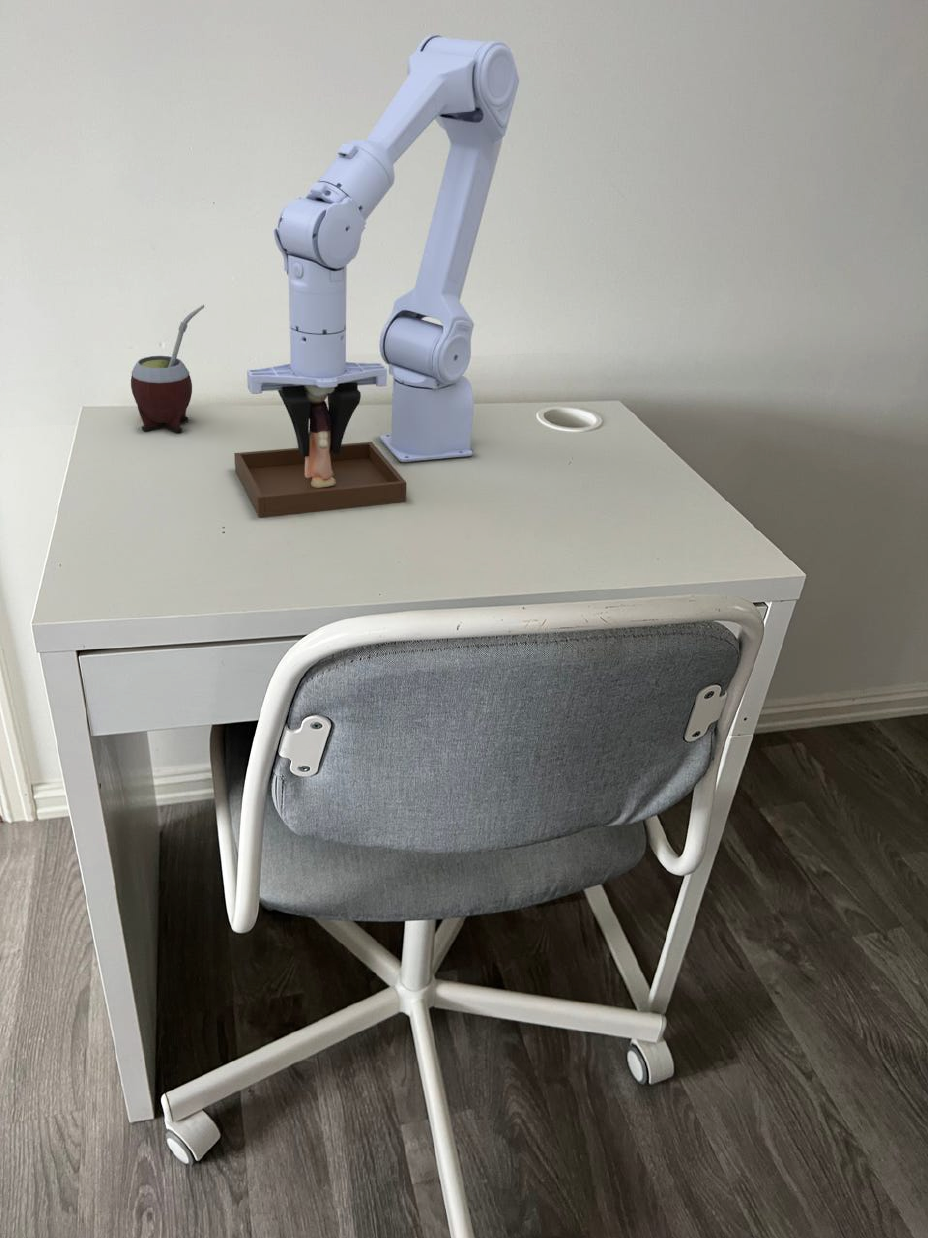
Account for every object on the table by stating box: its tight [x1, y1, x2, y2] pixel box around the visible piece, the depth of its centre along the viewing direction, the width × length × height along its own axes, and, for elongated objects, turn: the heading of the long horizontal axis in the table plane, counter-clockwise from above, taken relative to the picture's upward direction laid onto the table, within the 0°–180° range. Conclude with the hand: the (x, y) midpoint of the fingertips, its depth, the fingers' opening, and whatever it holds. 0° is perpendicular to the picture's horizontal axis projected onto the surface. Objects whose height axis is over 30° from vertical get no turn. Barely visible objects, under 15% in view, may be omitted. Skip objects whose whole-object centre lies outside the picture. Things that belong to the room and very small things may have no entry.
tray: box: [233, 441, 407, 518], centre depth 108 cm, size 16×12×2 cm
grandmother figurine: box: [304, 385, 336, 488], centre depth 105 cm, size 8×4×13 cm, turn 21°
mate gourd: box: [130, 304, 205, 434], centre depth 117 cm, size 8×8×15 cm
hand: (318, 451), depth 106 cm, fingers closed on grandmother figurine, 3 cm apart
